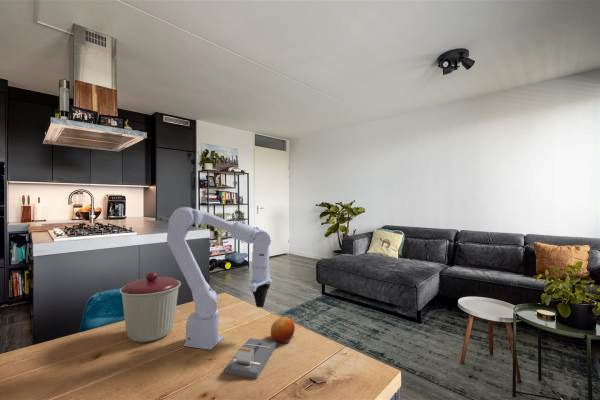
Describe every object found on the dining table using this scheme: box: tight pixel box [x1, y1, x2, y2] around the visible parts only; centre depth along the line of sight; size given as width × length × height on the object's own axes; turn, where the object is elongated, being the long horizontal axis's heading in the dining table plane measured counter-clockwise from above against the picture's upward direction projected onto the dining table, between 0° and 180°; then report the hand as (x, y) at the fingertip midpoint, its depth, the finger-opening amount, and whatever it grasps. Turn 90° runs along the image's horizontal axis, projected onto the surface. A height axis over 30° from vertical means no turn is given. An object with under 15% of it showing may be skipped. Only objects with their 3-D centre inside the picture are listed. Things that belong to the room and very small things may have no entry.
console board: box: [224, 337, 277, 380], centre depth 77 cm, size 9×16×2 cm, turn 167°
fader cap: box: [235, 346, 254, 366], centre depth 72 cm, size 4×2×4 cm, turn 77°
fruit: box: [270, 316, 296, 344], centre depth 89 cm, size 8×8×8 cm
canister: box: [119, 271, 182, 343], centre depth 91 cm, size 18×18×21 cm
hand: (260, 306), depth 91 cm, fingers closed
